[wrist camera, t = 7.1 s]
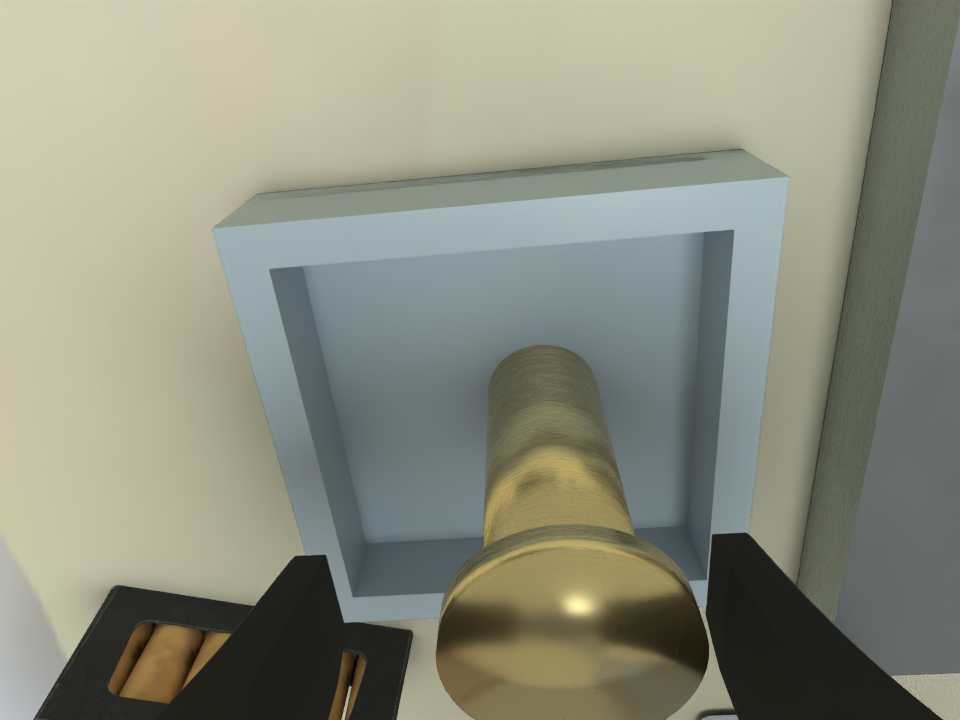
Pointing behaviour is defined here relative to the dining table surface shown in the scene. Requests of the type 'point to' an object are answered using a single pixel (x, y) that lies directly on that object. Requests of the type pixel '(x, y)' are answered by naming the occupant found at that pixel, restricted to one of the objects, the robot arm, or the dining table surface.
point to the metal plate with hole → (899, 373)
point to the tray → (506, 349)
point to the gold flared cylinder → (563, 569)
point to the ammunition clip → (200, 659)
